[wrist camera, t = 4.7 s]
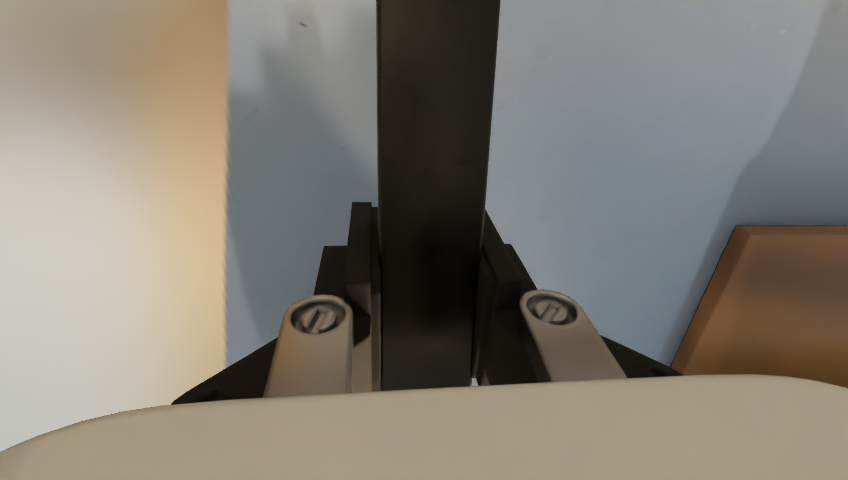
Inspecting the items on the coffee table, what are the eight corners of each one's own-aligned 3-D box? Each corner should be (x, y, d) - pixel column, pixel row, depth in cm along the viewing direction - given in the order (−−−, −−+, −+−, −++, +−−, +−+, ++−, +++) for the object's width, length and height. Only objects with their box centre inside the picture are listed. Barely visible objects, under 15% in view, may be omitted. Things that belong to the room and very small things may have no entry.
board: (734, 225, 21) (750, 234, 20) (1025, 224, 23) (1051, 232, 22) (624, 464, 30) (632, 478, 29) (836, 449, 32) (848, 461, 31)
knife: (430, 596, 18) (446, 738, 14) (380, 602, 18) (382, 748, 14) (458, -16, 11) (508, -92, 7) (375, -22, 10) (375, -103, 6)
